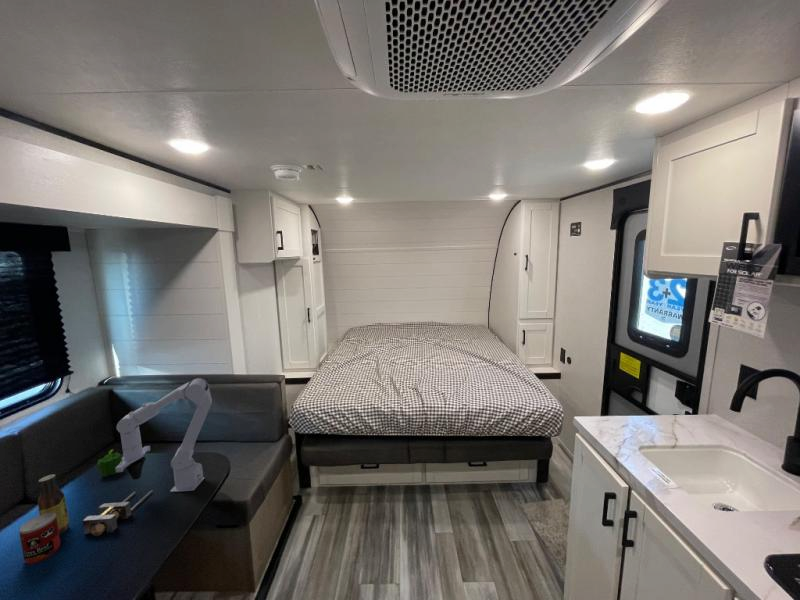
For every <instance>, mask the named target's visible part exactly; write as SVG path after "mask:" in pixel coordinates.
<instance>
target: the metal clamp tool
mask: <svg viewBox="0 0 800 600" xmlns="http://www.w3.org/2000/svg"><path fill="white" fill-rule="evenodd" d="M153 493H154V490H153V489H152V490H150V491H148V492H147V493H146V495H144V496H143V497H142V498H141V499H139V501H138V502H136V503H135V504H134V505H133V506H132V507H131V502H130V499H131V498H133V497H134V496H135V495H137V491H133V492H132V493H130V494H129V496H127V497H126V498H125V499H124V500H123V501H121V502H108V503H103V504H101V505H99V507H98V515H88V516H86V517H85V518H84V519H83V520H82V526H83V527H82V528H83V532H84V535H91V534H92V533H91V530H92V528H93V527H94V526H96V523H99V522H105V524H106V530H105V531H106V533H108V534H109V532H110V533H113V532H115V531H116V530H117V529H118V528H117V527H118V522H117V520H118V519H116V514H111V515H108V514H109V513H111V512H112V511H113V510H114V509H120V512H121V516H120V519H121V520H124V519H125V520H127V519H128V518H130V517H131V516H132V514H133V512H134V511H135V510H136V509H137V508H138V507H139V506H140V505H141V504H142V503H143V502H145V500H146V499H148V498H149V497H150V496H151V495H152V494H153ZM129 516H130V517H129ZM116 528H117V529H116ZM115 529H116V530H115ZM114 530H115V531H114Z"/></svg>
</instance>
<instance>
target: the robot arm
mask: <svg viewBox="0 0 800 600" xmlns="http://www.w3.org/2000/svg"><path fill="white" fill-rule="evenodd" d="M186 399H188V400H189V401H191V402H193V403H194V404H195V406H196V409H195V412H194V414H193V417H192V419H191V422H190V424H189V426H188V428H187V431H186V433H185V435H184V438H183V439H182V443H181V445H180V446H178V448H177V450H176V452H175V454H174V456H173V458H172V459H171V461H170V467H171V468H172V469H173V478H174V486H173V487H172V488H171V489H170V493H176V492H190V491H191V492H192V491H195V490H196V489H197V487H198V486H199V485H200V484H201V483H202V482H203V481H204V479H205V477H204V472H203V465H202V464H201V462H200V463H199V462H196V461H195V459H194V458H193V457H192V456H193V455H194V454H195V453H194V452H195V444H196V441H197V439H198V436H199V434H200V432H201V429H202V427H203V426H204V422H205V420H206V417H207V415H208V413H209V411H210V409H211V406H212V404H213V403H212V402H213V399H212V394H211V390H210V385H209V383H208V382H207V381H206V380H205V378H200V377H197V378H194V379H192V380H191V381H188V382H187V383H183V384H182V385H181V386H178V387H177V388H176V389H174V390H172V391H171V392H170V393H168V394H166V395H165V396H163V397H162V398H160V399H159V400H157V401H156V402H155V401H154V402H152V401H150V402H147V403H146V402H144V403H142V405H141V407H139V408H137V409H135V410H131V411H130V412H129V413H128V414H126V415H125V416H124V417H122V418H121V419H120V420H119V421H118V422H117V424H116V427H115V428H116V431H118V433H119V434H120V440H121V441H120V442H121V446H122V448H121V449H122V453H123V456H122V461H121V463H120V464H119V465H118V466H117V467H116V468H115V469H116V472H118V473H122V472H124V470H125V471H127V472H128V474H129V476H130V477H131V478H132V480H133V481H134V480H139V479H140V478H141V477H142V476H141V475H142V470H143V467H144V464H145V461H146V459H147V458H146V457H145V456H144V455H146V453H147V452H150V451H151V445H145V446H144V447H143V444H142V437H141V430H140V426H141V425H142V424H144V423H145V422H147V421H149V420H151V419H152V418H154V417H156V416H157V415H158V414H159V413H160V410H162V408H165V407H166V406H168V405H170V404H171V403H173V402H175V401H177V400H186Z"/></svg>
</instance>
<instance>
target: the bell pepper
mask: <svg viewBox="0 0 800 600" xmlns="http://www.w3.org/2000/svg"><path fill="white" fill-rule="evenodd" d="M113 452H114V449H110V450H109V451H108V454H106V455H104V457H102V458H100V459H98V460H97V471H98V472H99V474H100V475H101V476H102V477H105V478H106V477H109V476H114V475H116V474H118V473H119V472H116V469H115V468H116V467H117V466H118V465H119V464H120V463H121V461H122V457H123V456H122V455H121V453H119V452H114V453H113Z"/></svg>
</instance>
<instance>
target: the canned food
mask: <svg viewBox="0 0 800 600" xmlns="http://www.w3.org/2000/svg"><path fill="white" fill-rule="evenodd" d="M19 538H20V543H21V544H20V545H21V550H22V556H23V561H24V563H25V564H26V565H33V564H37V563H40V562H42V561H44V560H46V559H48V558H49V557H51V556H52V555H53V554H55V553H56V552H58V550H59V549H60V546H61V537H60V534H59V530H58V523H57V517H56V514H55V513H52V512H51V513H46V514H42V515H37V516H35V517H34V518H32V519H30V520H28V521H26V522H25V523H24V524H23V525H21V526H20V527H19Z"/></svg>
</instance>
